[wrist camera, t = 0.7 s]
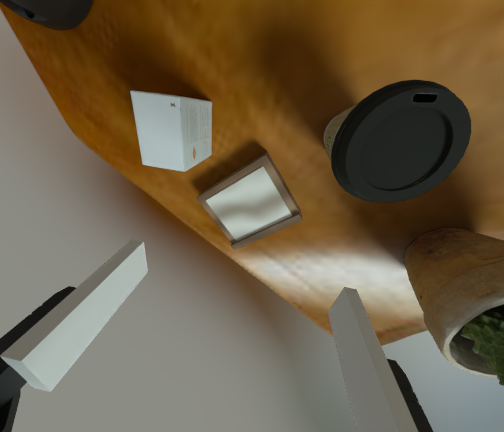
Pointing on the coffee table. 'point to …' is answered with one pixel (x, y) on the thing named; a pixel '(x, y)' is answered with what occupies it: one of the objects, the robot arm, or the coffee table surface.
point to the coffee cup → (398, 141)
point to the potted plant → (461, 296)
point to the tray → (251, 202)
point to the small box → (172, 129)
